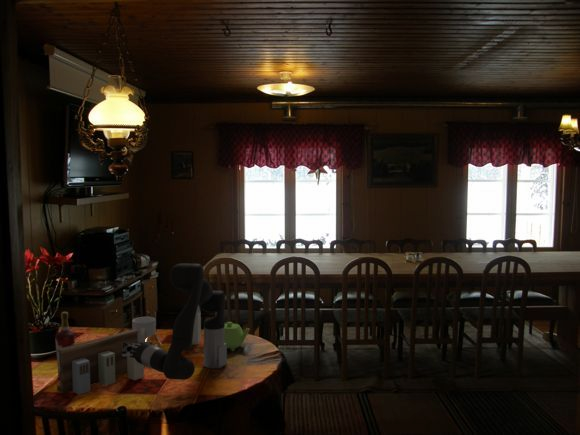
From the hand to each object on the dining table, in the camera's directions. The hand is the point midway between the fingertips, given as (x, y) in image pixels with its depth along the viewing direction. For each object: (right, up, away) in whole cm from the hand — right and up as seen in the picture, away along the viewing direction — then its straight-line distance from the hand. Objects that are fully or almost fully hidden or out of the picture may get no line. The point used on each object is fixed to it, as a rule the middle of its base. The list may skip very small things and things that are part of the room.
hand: (124, 344), depth 182 cm
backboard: (-15, -18, +14) cm, 27 cm away
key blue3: (-18, -19, +2) cm, 26 cm away
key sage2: (-11, -18, +10) cm, 24 cm away
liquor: (-28, -18, +13) cm, 36 cm away
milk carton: (+14, -15, +59) cm, 63 cm away
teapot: (+33, -15, +52) cm, 64 cm away
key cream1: (-1, -18, +16) cm, 24 cm away
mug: (-9, -15, +54) cm, 56 cm away
